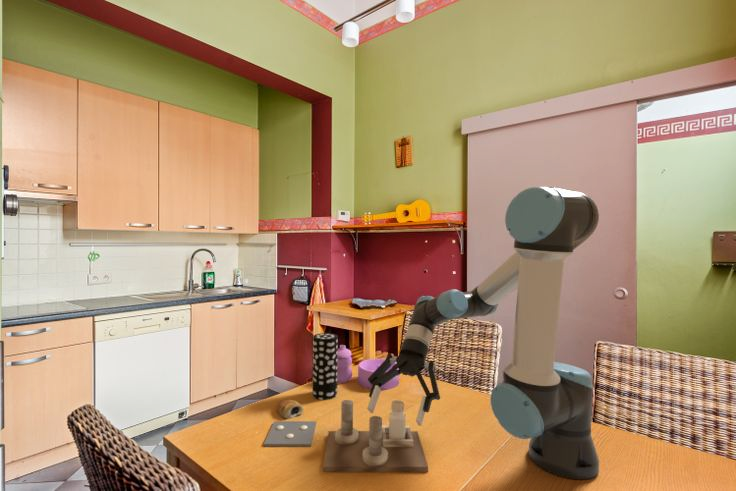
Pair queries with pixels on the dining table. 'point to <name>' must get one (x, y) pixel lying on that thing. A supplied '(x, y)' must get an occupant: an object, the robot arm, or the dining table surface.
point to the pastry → (289, 408)
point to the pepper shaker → (397, 421)
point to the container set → (361, 370)
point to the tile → (291, 433)
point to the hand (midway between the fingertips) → (393, 417)
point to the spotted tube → (325, 366)
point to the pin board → (356, 453)
